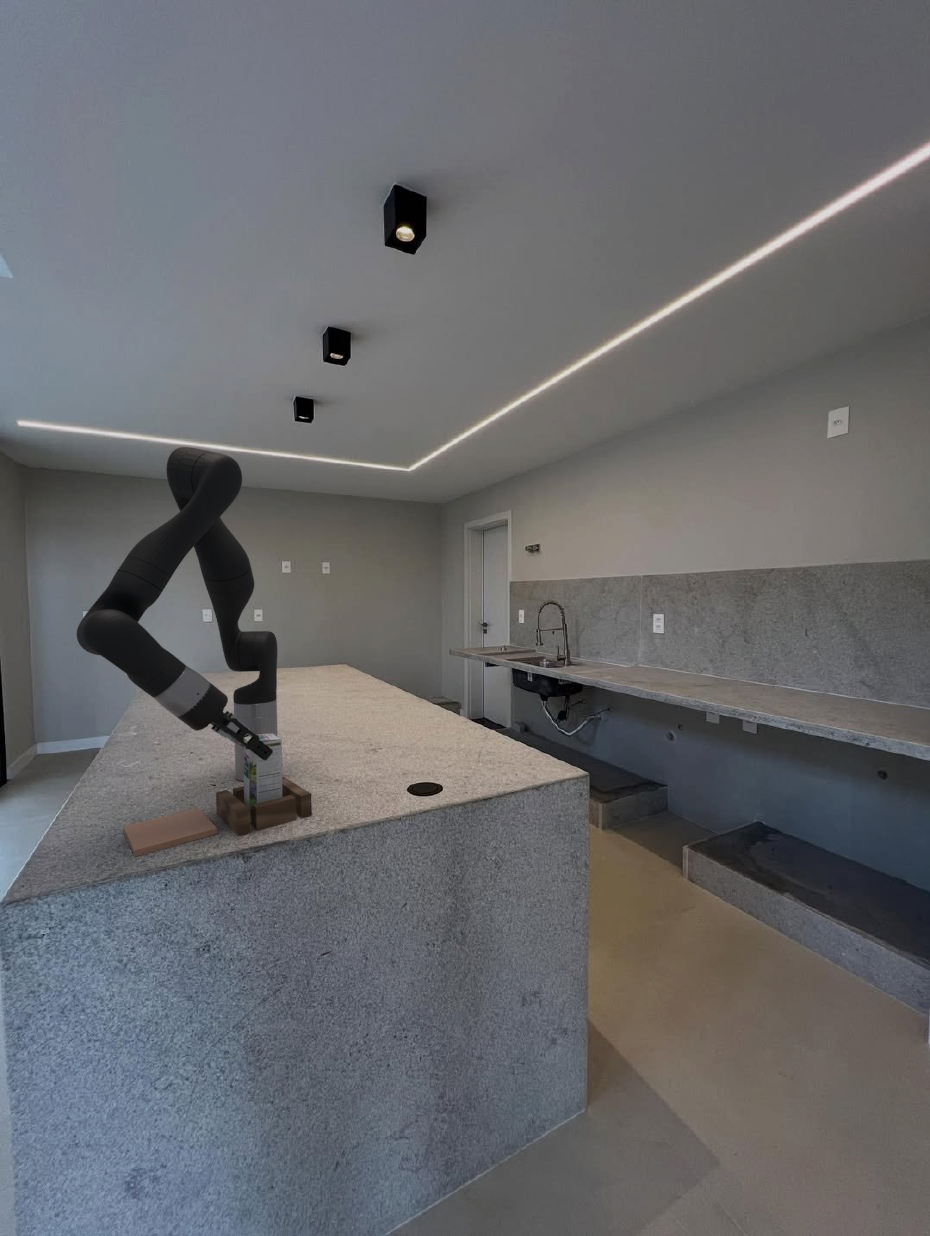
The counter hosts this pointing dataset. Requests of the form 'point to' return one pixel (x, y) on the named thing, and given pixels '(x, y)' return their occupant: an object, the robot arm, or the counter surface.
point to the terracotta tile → (168, 831)
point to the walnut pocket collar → (263, 808)
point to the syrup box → (263, 773)
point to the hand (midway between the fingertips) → (260, 751)
